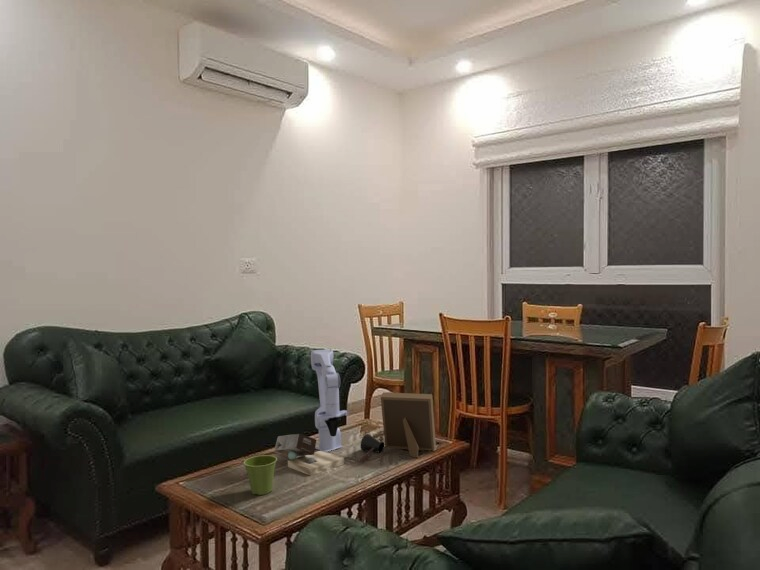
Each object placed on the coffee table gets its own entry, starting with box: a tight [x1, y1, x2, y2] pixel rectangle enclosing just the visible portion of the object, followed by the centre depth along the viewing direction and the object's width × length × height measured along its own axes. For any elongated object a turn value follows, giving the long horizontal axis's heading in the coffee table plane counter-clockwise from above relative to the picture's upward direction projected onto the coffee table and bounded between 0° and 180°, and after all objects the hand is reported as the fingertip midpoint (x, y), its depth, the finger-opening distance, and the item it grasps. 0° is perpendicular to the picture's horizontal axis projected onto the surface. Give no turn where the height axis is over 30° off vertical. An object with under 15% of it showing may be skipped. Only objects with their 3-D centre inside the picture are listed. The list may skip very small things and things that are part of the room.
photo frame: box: [380, 391, 437, 458], centre depth 240 cm, size 15×22×25 cm
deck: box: [287, 450, 345, 477], centre depth 226 cm, size 17×15×2 cm
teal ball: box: [287, 451, 298, 460], centre depth 226 cm, size 3×3×3 cm
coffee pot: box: [357, 433, 385, 463], centre depth 237 cm, size 8×18×8 cm
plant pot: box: [243, 454, 278, 496], centre depth 200 cm, size 12×12×11 cm
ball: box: [306, 459, 314, 464], centre depth 224 cm, size 3×3×3 cm
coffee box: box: [274, 432, 317, 457], centre depth 231 cm, size 9×6×16 cm
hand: (333, 435), depth 231 cm, fingers closed
